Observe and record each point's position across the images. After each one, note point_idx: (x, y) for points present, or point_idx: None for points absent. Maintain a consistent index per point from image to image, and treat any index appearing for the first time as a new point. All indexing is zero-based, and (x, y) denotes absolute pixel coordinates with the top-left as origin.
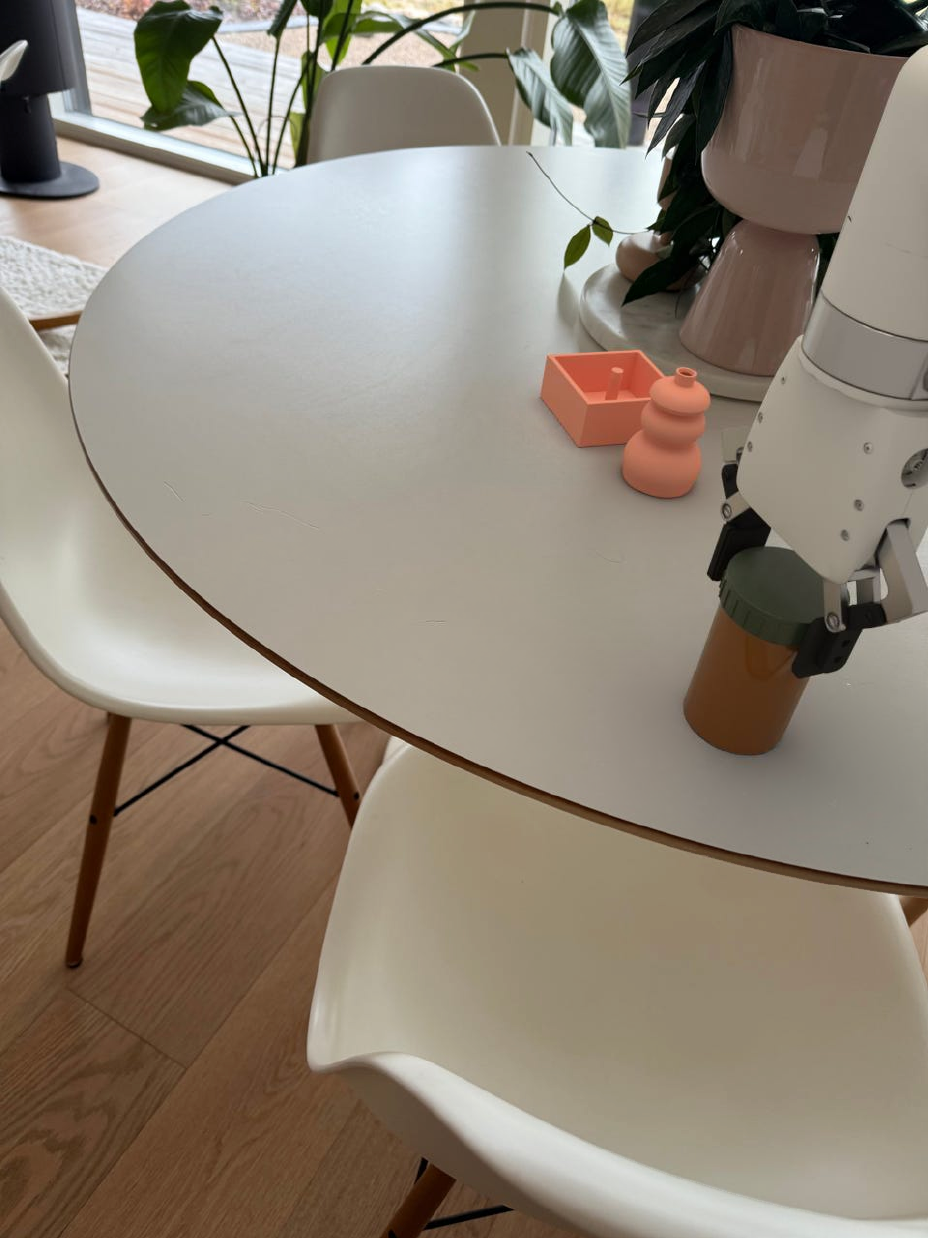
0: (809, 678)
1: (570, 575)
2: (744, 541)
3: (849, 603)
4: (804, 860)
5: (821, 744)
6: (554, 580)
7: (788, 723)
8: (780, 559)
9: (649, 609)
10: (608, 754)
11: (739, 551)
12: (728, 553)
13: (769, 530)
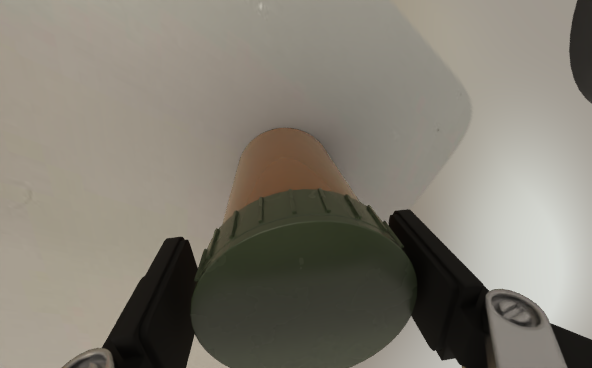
0: (345, 180)
1: (70, 243)
2: (175, 340)
3: (395, 245)
4: (426, 186)
5: (336, 105)
6: (82, 258)
7: (327, 153)
8: (238, 305)
9: (121, 188)
10: None
11: (184, 321)
12: (190, 337)
13: (151, 322)
